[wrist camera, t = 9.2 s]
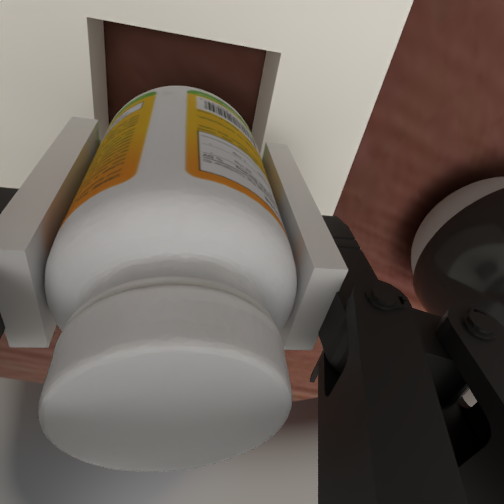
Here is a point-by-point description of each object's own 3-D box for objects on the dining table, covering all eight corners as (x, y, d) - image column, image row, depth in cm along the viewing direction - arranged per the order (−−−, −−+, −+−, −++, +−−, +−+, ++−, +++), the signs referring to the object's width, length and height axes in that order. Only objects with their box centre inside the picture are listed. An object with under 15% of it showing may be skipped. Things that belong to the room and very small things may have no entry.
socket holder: (31, 228, 21) (11, 263, 19) (-63, -196, 11) (-128, -234, 9) (297, 247, 24) (309, 278, 22) (400, -67, 15) (440, -71, 12)
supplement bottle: (123, 226, 15) (51, 506, 7) (86, 84, 11) (-116, 332, 4) (256, 218, 15) (315, 469, 8) (258, 79, 12) (368, 291, 4)
